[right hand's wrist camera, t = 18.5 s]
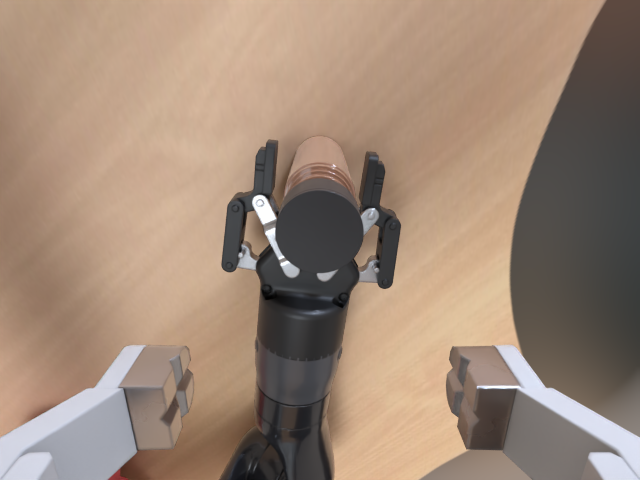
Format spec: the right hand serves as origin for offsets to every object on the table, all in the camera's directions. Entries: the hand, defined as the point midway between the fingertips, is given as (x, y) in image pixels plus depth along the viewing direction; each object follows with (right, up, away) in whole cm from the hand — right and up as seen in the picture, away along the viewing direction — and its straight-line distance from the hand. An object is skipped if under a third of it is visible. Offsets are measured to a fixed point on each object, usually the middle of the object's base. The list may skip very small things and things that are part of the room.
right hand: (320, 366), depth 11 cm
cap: (0, +4, +9) cm, 10 cm away
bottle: (0, +10, +26) cm, 28 cm away
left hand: (0, +10, +19) cm, 22 cm away
